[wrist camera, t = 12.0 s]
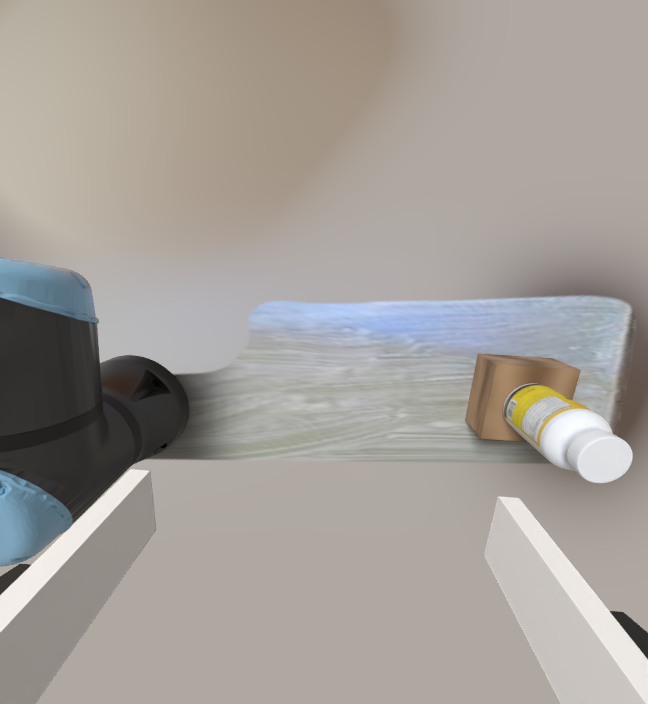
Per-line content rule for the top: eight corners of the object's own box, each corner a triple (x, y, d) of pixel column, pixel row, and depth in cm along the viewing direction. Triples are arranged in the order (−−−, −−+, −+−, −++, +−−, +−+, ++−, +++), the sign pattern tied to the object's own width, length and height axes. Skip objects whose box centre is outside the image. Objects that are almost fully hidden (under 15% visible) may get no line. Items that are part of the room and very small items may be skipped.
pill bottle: (554, 425, 39) (642, 487, 28) (501, 432, 40) (567, 497, 28) (554, 376, 38) (647, 422, 26) (499, 385, 38) (567, 434, 27)
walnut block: (465, 420, 45) (480, 438, 40) (478, 353, 42) (496, 364, 37) (535, 425, 45) (559, 444, 40) (552, 358, 42) (580, 370, 37)
